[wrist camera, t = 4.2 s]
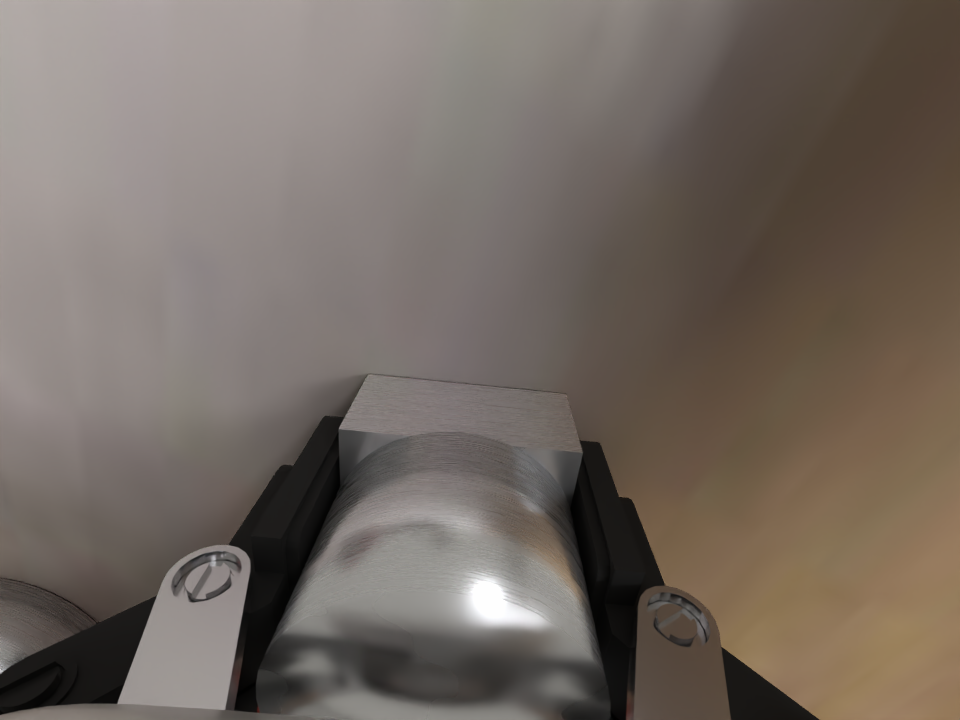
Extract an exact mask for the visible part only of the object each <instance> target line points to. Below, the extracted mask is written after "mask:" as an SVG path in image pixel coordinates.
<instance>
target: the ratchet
mask: <svg viewBox="0 0 960 720" xmlns="http://www.w3.org/2000/svg"><path fill="white" fill-rule="evenodd" d="M96 624H97V623H96V622H95V621H94V620H92V619H91V618H90V617H89V616H88V615H87V614H85V613H84V612H83V611H82V610H80V609H79V608H77V607H76V606H74V605H73V604H71V603H69V602H68V601H66V600H64V599H62V598H61V597H59V596H56V595H54V594H52V593H50V592H48V591H45V590H43V589H40V588H38V587H35V586H32V585H28V584H25V583H22V582H17V581H13V580H8V579H1V578H0V674H1V673H2V672H4V671H5V670H6V669H7V668H9V667H10V666H12V665H14V664H15V663H17V662H19V661H21V660H22V659H24V658H26V657H28V656H30V655H32V654H34V653H36V652H38V651H40V650H43V649H45V648H47V647H49V646H51V645H53V644H55V643H57V642H60V641H62V640H64V639H66V638H68V637H70V636H72V635H74V634H77V633H79V632H81V631H83V630H85V629H87V628H89V627H91V626H94V625H96Z"/></svg>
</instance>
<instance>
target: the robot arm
mask: <svg viewBox="0 0 960 720" xmlns="http://www.w3.org/2000/svg"><path fill="white" fill-rule="evenodd" d="M343 420H344V417H333V416H324V418H323V419H322V421H321V422H320V424H319V425H318V427H317V429H316V430H315V432H314V433H313V435H312V437H311V438H310V440H309V442H308V443H307V445H306V446H305V448H304V450H303V451H302V453H301V454H300V456H299V458H298V459H297V461H296V463H295V464H294V466H291V465H283V466H281V467H280V468H279V469H278V470H277V472H276V473H275V475H274V476H273V478H272V479H271V481H270V482H269V484H268V486H267V487H266V489H265V490H264V492H263V493H262V495H261V496H260V498H259V499H258V501H257V502H256V504H255V505H254V507H253V508H252V510H251V511H250V513H249V514H248V516H247V517H246V519H245V520H244V522H243V524H242V525H241V527H240V528H239V530H238V531H237V533H236V534H235V536H234V537H233V539H232V540H231V542H230V543H229V545H214V546H210V547H205V548H202V549H199V550H197V551H195V552H192V553H190V554H188V555H187V556H185V557H184V558H182V559H181V560H179V561H178V562H177V563H176V564H175V565H174V566H173V567H172V568H171V569H170V570H169V571H168V572H167V574H166V576H165V578H164V579H163V581H162V584H161V586H160V589H159V592H158V595H157V596H155V597H153V598H151V599H149V600H147V601H145V602H143V603H140V604H138V605H136V606H134V607H132V608H130V609H128V610H126V611H123V612H121V613H119V614H117V615H115V616H113V617H111V618H108V619H106V620H104V621H102V622H100V623H98V624H96V625H94V626H91V627H89V628H87V629H85V630H83V631H81V632H79V633H77V634H74V635H72V636H70V637H68V638H66V639H64V640H62V641H60V642H57V643H55V644H53V645H51V646H49V647H47V648H45V649H43V650H40V651H38V652H36V653H34V654H32V655H30V656H28V657H26V658H24V659H22V660H21V661H19V662H17V663H15V664H14V665H12V666H10V667H9V668H7V669H6V670H5V671H4V672H2V673H1V674H0V720H340V719H328V718H315V717H303V716H291V715H279V714H266V713H260V711H259V707H258V703H257V700H256V681H257V675H258V670H259V668H260V665H261V663H262V660H263V658H264V656H265V653H266V651H267V649H268V647H269V644H270V642H271V640H272V638H273V636H274V633H275V631H276V629H277V627H278V624H279V622H280V620H281V618H282V615H283V613H284V611H285V609H286V606H287V604H288V602H289V600H290V597H291V595H292V593H293V591H294V588H295V586H296V584H297V582H298V580H299V577H300V575H301V573H302V571H303V568H304V566H305V564H306V562H307V559H308V557H309V555H310V553H311V550H312V548H313V546H314V544H315V541H316V539H317V537H318V535H319V532H320V530H321V528H322V526H323V524H324V521H325V519H326V517H327V515H328V512H329V510H330V508H331V506H332V503H333V501H334V499H335V497H336V494H337V492H338V490H339V488H340V461H339V427H340V425H341V423H342V422H343ZM580 444H581V448H582V451H583V455H582V459H581V464H580V468H579V472H578V477H577V481H576V485H575V490H574V494H573V499H572V503H571V507H570V509H571V513H572V518H573V523H574V528H575V533H576V538H577V542H578V547H579V552H580V557H581V562H582V566H583V571H584V576H585V581H586V586H587V591H588V595H589V600H590V605H591V610H592V615H593V619H594V624H595V629H596V634H597V639H598V644H599V648H600V653H601V658H602V663H603V668H604V672H605V677H606V682H607V687H608V692H609V697H610V702H611V708H610V720H819V719H818V718H816V717H815V716H814V715H812V714H811V713H810V712H808V711H807V710H806V709H804V708H803V707H802V706H800V705H799V704H798V703H796V702H795V701H794V700H792V699H791V698H790V697H788V696H787V695H786V694H784V693H783V692H782V691H780V690H779V689H777V688H776V687H775V686H773V685H772V684H771V683H769V682H768V681H767V680H765V679H764V678H763V677H761V676H760V675H759V674H757V673H756V672H755V671H753V670H752V669H751V668H749V667H748V666H747V665H745V664H744V663H742V662H741V661H740V660H738V659H737V658H736V657H734V656H733V655H732V654H730V653H729V652H728V651H726V650H725V649H724V648H722V647H721V642H720V634H719V630H718V627H717V624H716V621H715V619H714V618H713V616H712V615H711V613H710V612H709V610H708V609H707V608H706V607H705V606H704V605H703V604H702V603H701V602H700V601H699V600H697V599H696V598H694V597H693V596H691V595H690V594H688V593H686V592H684V591H682V590H680V589H677V588H673V587H669V586H665V584H664V581H663V579H662V576H661V574H660V571H659V568H658V566H657V563H656V561H655V558H654V555H653V553H652V550H651V548H650V545H649V542H648V540H647V537H646V535H645V532H644V529H643V527H642V524H641V521H640V519H639V516H638V514H637V511H636V508H635V506H634V504H633V502H632V500H631V499H629V498H623V497H619V496H618V493H617V490H616V487H615V484H614V482H613V479H612V476H611V473H610V470H609V467H608V464H607V461H606V459H605V456H604V453H603V450H602V447H601V445H600V443H598V442H589V441H580Z"/></svg>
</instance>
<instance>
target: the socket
mask: <svg viewBox="0 0 960 720" xmlns="http://www.w3.org/2000/svg"><path fill="white" fill-rule="evenodd" d="M582 455H583V451H582V448H581V444H580V441H579V437H578V434H577V430H576V427H575V423H574V420H573V416H572V413H571V409H570V406H569V402H568V398H567V395H566V394H562V393H552V392H542V391H532V390H522V389H512V388H502V387H492V386H482V385H472V384H462V383H452V382H442V381H432V380H422V379H412V378H402V377H392V376H382V375H372V374H368V375H367V377H366V379H365V381H364V383H363V385H362V386H361V388H360V390H359V392H358V394H357V396H356V397H355V399H354V401H353V403H352V405H351V407H350V409H349V410H348V412H347V414H346V416H345V418H344V420H343V422H342V423H341V425H340V427H339V461H340V488H339V490H338V492H337V494H336V497H335V499H334V501H333V503H332V506H331V508H330V510H329V512H328V515H327V517H326V519H325V521H324V524H323V526H322V528H321V530H320V532H319V535H318V537H317V539H316V541H315V544H314V546H313V548H312V550H311V553H310V555H309V557H308V559H307V562H306V564H305V566H304V568H303V571H302V573H301V575H300V577H299V580H298V582H297V584H296V586H295V588H294V591H293V593H292V595H291V597H290V600H289V602H288V604H287V606H286V609H285V611H284V613H283V615H282V618H281V620H280V622H279V624H278V627H277V629H276V631H275V633H274V636H273V638H272V640H271V642H270V644H269V647H268V649H267V651H266V653H265V656H264V658H263V660H262V663H261V665H260V668H259V670H258V675H257V681H256V700H257V703H258V707H259V711H260V713H266V714H279V715H291V716H303V717H315V718H328V719H340V720H610V708H611V702H610V697H609V692H608V687H607V682H606V677H605V672H604V668H603V663H602V658H601V653H600V648H599V644H598V639H597V634H596V629H595V624H594V619H593V615H592V610H591V605H590V600H589V595H588V591H587V586H586V581H585V576H584V571H583V566H582V562H581V557H580V552H579V547H578V542H577V538H576V533H575V528H574V523H573V518H572V513H571V509H570V507H571V503H572V499H573V494H574V490H575V485H576V481H577V477H578V472H579V468H580V464H581V459H582Z"/></svg>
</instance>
